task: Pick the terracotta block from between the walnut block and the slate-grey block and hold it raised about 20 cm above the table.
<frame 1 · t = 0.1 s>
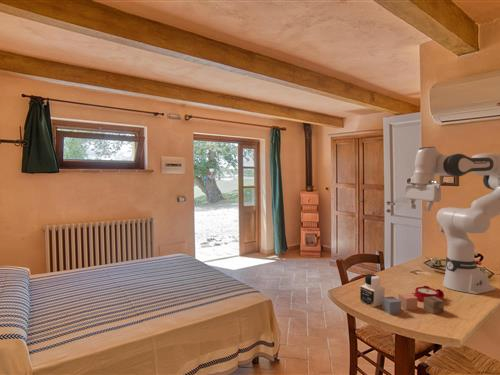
hand: (420, 209, 150), 39 cm above the table, tool pointing down, fingers open, 8 cm apart
walnut block: (433, 311, 130), on the table
medicine bottle: (372, 303, 138), on the table
alarm clock: (428, 299, 143), on the table
slate-grey block: (391, 311, 129), on the table
terracotta block: (407, 307, 133), on the table
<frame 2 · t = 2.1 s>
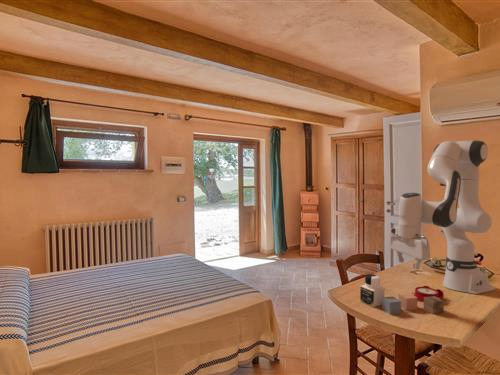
hand: (408, 265, 132), 18 cm above the table, tool pointing down, fingers open, 8 cm apart
nothing on the table moved.
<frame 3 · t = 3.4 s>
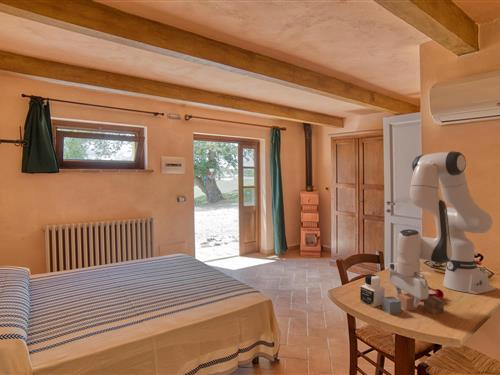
hand: (407, 301, 133), 2 cm above the table, tool pointing down, fingers open, 8 cm apart
nothing on the table moved.
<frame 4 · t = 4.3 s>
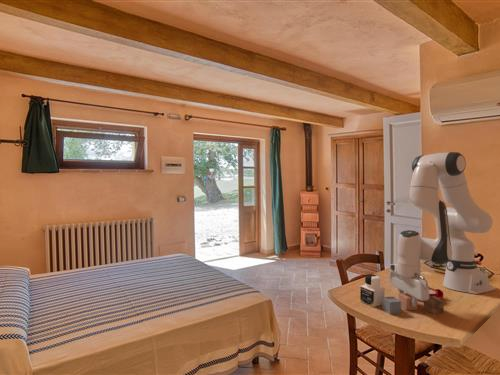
hand: (407, 302, 133), 2 cm above the table, tool pointing down, fingers closed on terracotta block, 5 cm apart
terracotta block: (407, 307, 133), on the table, touching gripper
everything else where it was.
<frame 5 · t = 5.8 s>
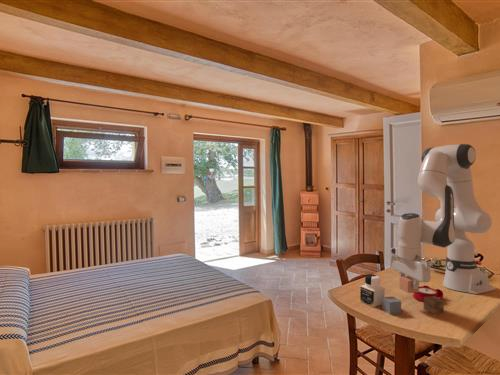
hand: (409, 285, 133), 9 cm above the table, tool pointing down, fingers closed on terracotta block, 5 cm apart
terracotta block: (409, 290, 133), point 7 cm above the table, touching gripper
everything else where it was.
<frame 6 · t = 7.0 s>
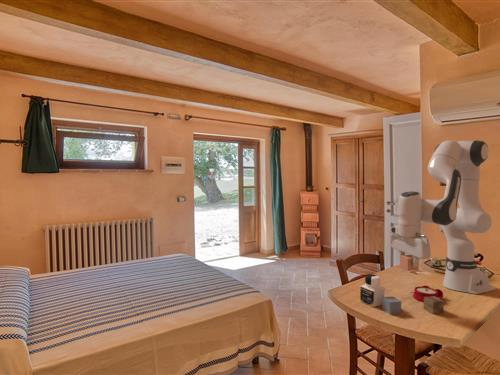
hand: (409, 264, 132), 18 cm above the table, tool pointing down, fingers closed on terracotta block, 5 cm apart
terracotta block: (408, 268, 132), point 16 cm above the table, touching gripper
everything else where it was.
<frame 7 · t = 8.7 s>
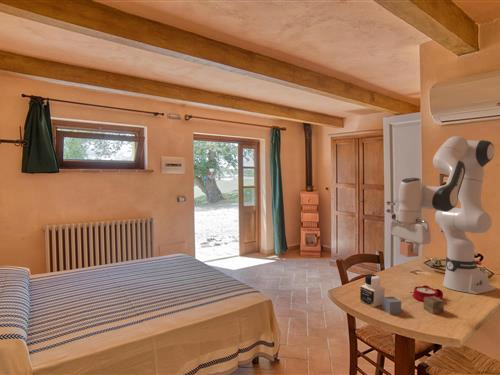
hand: (409, 250, 132), 24 cm above the table, tool pointing down, fingers closed on terracotta block, 5 cm apart
terracotta block: (408, 255, 132), point 22 cm above the table, touching gripper
everything else where it was.
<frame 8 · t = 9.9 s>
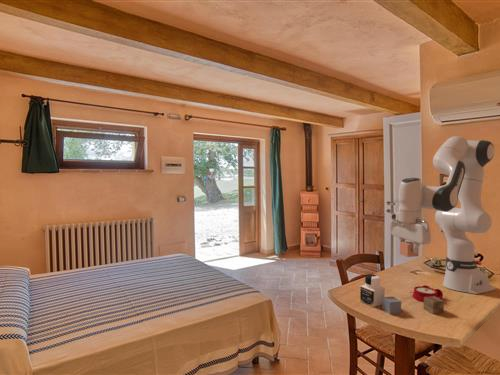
hand: (409, 250, 132), 24 cm above the table, tool pointing down, fingers closed on terracotta block, 5 cm apart
terracotta block: (408, 255, 132), point 22 cm above the table, touching gripper
everything else where it was.
at the end: the gripper is holding terracotta block; terracotta block point 22.1 cm above the table; walnut block moved 0.1 cm from its start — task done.
